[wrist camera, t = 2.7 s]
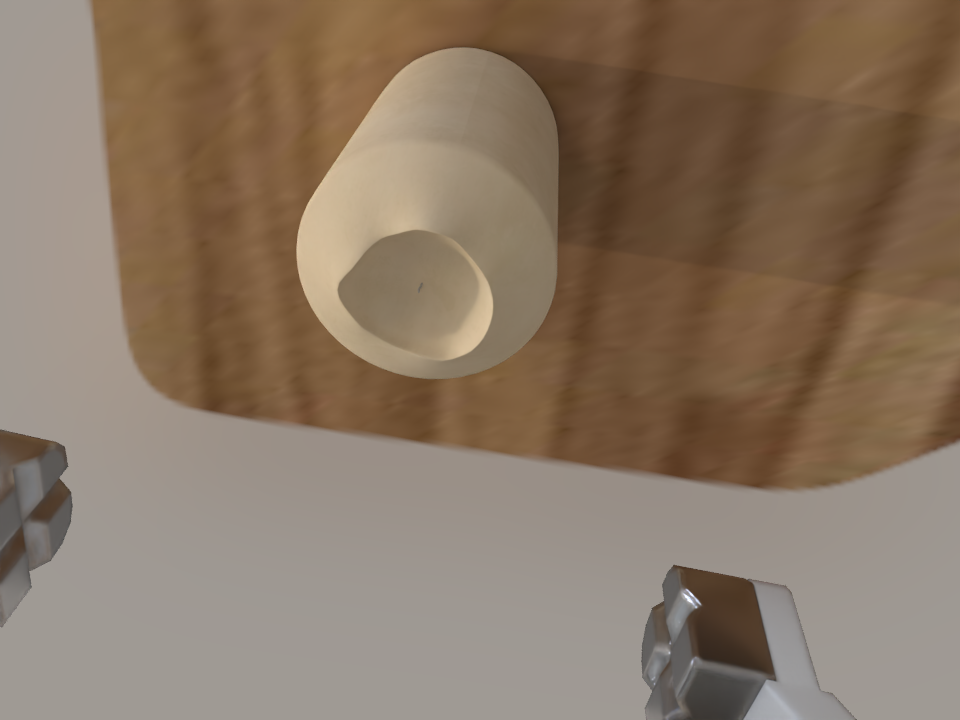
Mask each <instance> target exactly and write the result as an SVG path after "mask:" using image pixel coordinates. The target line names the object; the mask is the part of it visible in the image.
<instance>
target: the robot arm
mask: <svg viewBox="0 0 960 720" xmlns="http://www.w3.org/2000/svg"><path fill="white" fill-rule="evenodd" d="M67 467H68V463H67V457H66V451H65V447H64V446H62V445H61V444H59V443H57V442H54V441H49V440H44V439H40V438H35V437H31V436H26V435H22V434H18V433H13V432H9V431H4V430H0V627H3V625H4V624H5V623H6V621H7V619H8V618H9V617H10V616H11V614H12V613H13V612H14V610H15V609H16V608H17V606H18V605H19V603H20V602H21V601H22V599H23V598H24V597H25V595H26V594H27V593H28V591H29V590H30V588H31V580H30V573H29V571H31V570H33V569H35V568H37V567H39V566H41V565H43V564H45V563H47V562H49V561H51V559H52V558H53V556H54V555H55V554H56V552H57V551H58V549H59V548H60V546H61V545H62V543H63V540H64V537H65V535H66V533H67V530H68V528H69V525H70V522H71V514H72V497H71V492H70V490H69V489H68V488H67V487H66V486H65V484H64V483H63V482H62V481H61V480H60V479H59V477H60V476H61V475H62V474H63V472H64V471H65V470H66V468H67ZM662 587H663V596H664V601H663V602H662V603H660V604H658V605H656V606H655V607H653V608H652V610H651V613H650V616H649V618H648V621H647V624H646V627H645V633H644V638H643V643H642V661H641V662H642V674H643V675H642V677H643V679H644V681H645V682H646V683H647V684H648V686H649V687H650V689H651V690H652V693H651V696H650V698H649V700H648V703H647V705H646V707H645V713H646V720H857V719H855V718H854V716H853V715H852V714H851V713H850V712H849V711H848V710H847V709H846V708H845V707H844V706H843V704H842V703H841V702H840V701H839V700H838V699H837V698H836V697H835V696H834V695H833V694H832V693H829V692H824V691H821V690H820V687H819V684H818V680H817V677H816V674H815V670H814V667H813V664H812V660H811V657H810V654H809V650H808V647H807V643H806V640H805V636H804V633H803V630H802V626H801V623H800V620H799V616H798V613H797V610H796V607H795V603H794V599H793V596H792V593H791V591H790V590H789V589H788V588H787V587H786V586H784V585H778V584H773V583H768V582H762V581H757V580H752V579H748V580H746V579H744V578H739V577H734V576H729V575H723V574H719V573H713V572H708V571H703V570H697V569H692V568H687V567H682V566H677V565H673V567H672V568H671V569H670V570H669V571H668V573H667V575H666V578H665V580H664V582H663V584H662Z"/></svg>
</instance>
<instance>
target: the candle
mask: <svg viewBox="0 0 960 720" xmlns="http://www.w3.org/2000/svg"><path fill="white" fill-rule="evenodd" d="M558 170H559V145H558V133H557V126H556V122H555V118H554V115H553V112H552V109H551V107H550V105H549V102H548V100H547V99H546V97H545V95H544V94H543V92H542V90H541V89H540V88H539V86H538V85H537V84H536V83H535V81H534V80H533V79H532V78H531V77H530V76H529V75H528V74H527V73H526V72H525V71H524V70H523V69H521V68H520V67H519V66H517V65H516V64H515V63H513V62H512V61H510V60H508V59H506V58H504V57H502V56H500V55H498V54H495V53H492V52H490V51H485V50H481V49H476V48H466V47H464V48H449V49H444V50H439V51H436V52H433V53H430V54H427V55H425V56H423V57H421V58H419V59H417V60H415V61H413V62H412V63H410V64H409V65H407V66H406V67H404V68H403V69H402V70H401V71H400V72H399V73H398V74H397V75H396V76H395V77H394V78H393V79H392V81H391V82H390V83H389V84H388V85H387V87H386V88H385V89H384V90H383V92H382V93H381V95H380V96H379V98H378V99H377V101H376V102H375V104H374V105H373V106H372V108H371V109H370V111H369V112H368V114H367V115H366V117H365V118H364V120H363V121H362V123H361V124H360V126H359V127H358V129H357V130H356V132H355V133H354V135H353V136H352V138H351V139H350V141H349V142H348V143H347V145H346V146H345V148H344V149H343V151H342V152H341V154H340V155H339V157H338V158H337V160H336V161H335V163H334V164H333V166H332V167H331V169H330V170H329V172H328V173H327V175H326V176H325V178H324V179H323V181H322V182H321V184H320V185H319V187H318V188H317V190H316V191H315V193H314V195H313V196H312V198H311V199H310V201H309V203H308V205H307V207H306V209H305V212H304V214H303V217H302V219H301V223H300V228H299V232H298V239H297V266H298V271H299V276H300V281H301V284H302V287H303V290H304V293H305V295H306V297H307V299H308V301H309V303H310V305H311V307H312V309H313V311H314V312H315V314H316V315H317V317H318V318H319V320H320V321H321V323H322V324H323V325H324V326H325V327H326V329H327V330H328V331H329V332H330V333H331V334H332V335H333V336H334V337H335V338H336V339H337V340H338V341H339V342H340V343H341V344H342V345H343V346H345V347H346V348H347V349H349V350H350V351H351V352H353V353H354V354H356V355H357V356H359V357H361V358H362V359H364V360H366V361H367V362H369V363H371V364H374V365H376V366H378V367H380V368H382V369H385V370H388V371H391V372H394V373H397V374H401V375H406V376H410V377H416V378H425V379H448V378H457V377H463V376H467V375H471V374H475V373H478V372H481V371H484V370H487V369H489V368H491V367H493V366H495V365H497V364H499V363H501V362H503V361H505V360H506V359H508V358H509V357H511V356H512V355H514V354H515V353H516V352H517V351H519V350H520V349H521V348H522V347H523V346H524V345H525V344H527V342H528V341H529V340H530V339H531V338H532V337H533V335H534V334H535V333H536V332H537V330H538V329H539V327H540V326H541V324H542V323H543V321H544V319H545V317H546V315H547V313H548V311H549V308H550V306H551V303H552V300H553V296H554V293H555V287H556V280H557V247H558Z"/></svg>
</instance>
